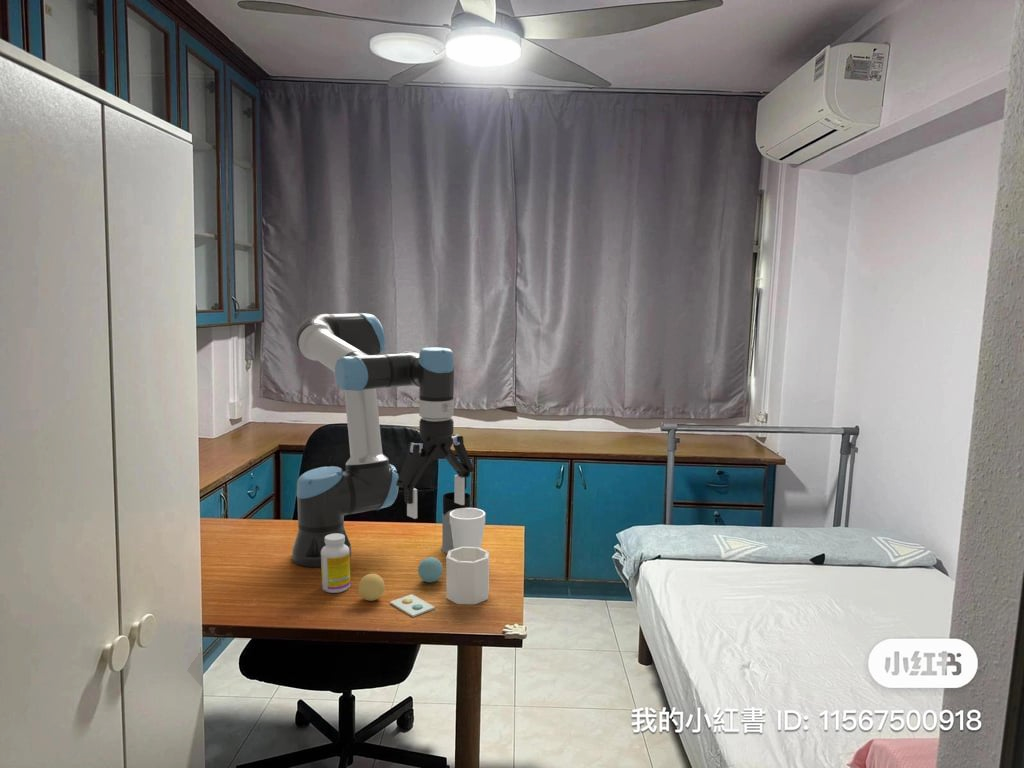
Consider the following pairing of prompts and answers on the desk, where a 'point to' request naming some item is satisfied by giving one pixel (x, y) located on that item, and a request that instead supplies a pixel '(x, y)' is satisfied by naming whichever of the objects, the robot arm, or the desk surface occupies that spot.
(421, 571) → the ball teal
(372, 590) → the ball ochre
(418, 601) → the card
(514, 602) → the desk surface
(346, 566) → the supplement bottle
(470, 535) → the foam cup
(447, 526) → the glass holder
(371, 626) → the desk surface
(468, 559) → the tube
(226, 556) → the desk surface
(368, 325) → the robot arm
